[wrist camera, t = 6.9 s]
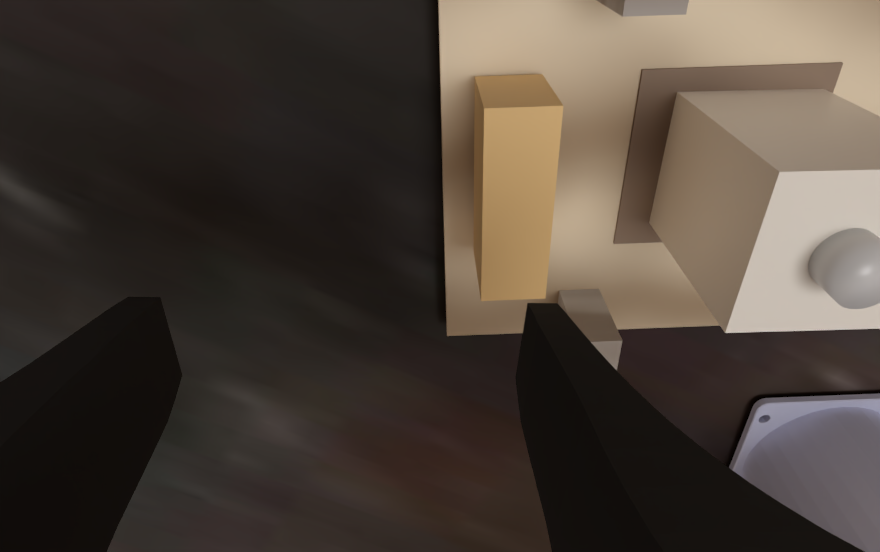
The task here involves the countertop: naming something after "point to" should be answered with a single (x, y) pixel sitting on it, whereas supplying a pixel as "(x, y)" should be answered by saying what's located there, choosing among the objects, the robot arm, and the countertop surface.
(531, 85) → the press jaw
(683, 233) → the block
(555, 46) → the press bed
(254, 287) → the countertop surface
